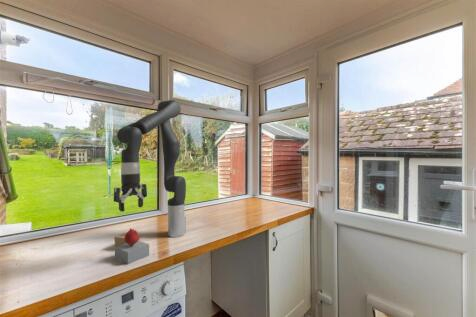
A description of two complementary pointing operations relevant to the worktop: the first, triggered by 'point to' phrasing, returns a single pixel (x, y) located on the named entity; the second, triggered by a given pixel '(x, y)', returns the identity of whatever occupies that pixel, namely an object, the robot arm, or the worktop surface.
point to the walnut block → (120, 239)
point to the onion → (131, 237)
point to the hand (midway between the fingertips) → (131, 209)
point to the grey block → (131, 252)
